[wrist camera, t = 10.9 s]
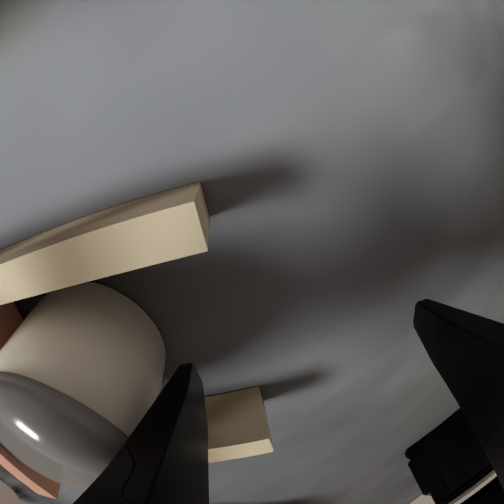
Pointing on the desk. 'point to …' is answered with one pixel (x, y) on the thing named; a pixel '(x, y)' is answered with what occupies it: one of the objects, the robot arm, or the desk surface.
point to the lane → (130, 258)
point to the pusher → (3, 326)
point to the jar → (78, 381)
